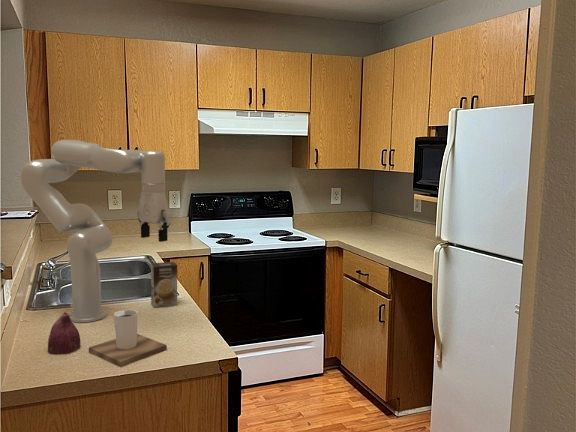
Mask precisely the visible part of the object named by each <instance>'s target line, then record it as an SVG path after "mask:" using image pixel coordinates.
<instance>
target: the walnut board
mask: <svg viewBox="0 0 576 432" xmlns="http://www.w3.org/2000/svg"><path fill="white" fill-rule="evenodd" d="M167 348H168V347H167V344H165V343H163V342H159V341H157V340H155V339H152V338H149V337H146V336H145V335H142V334H139V333H137V345H136V346H135V347H134V348H131V349H119V348H117V345H116V338H113V339H110V340H108V341H104V342H101V343H98V344H95V345H93V346H89V347H88V353H89V354H92V355H94V356H95V357H98V358H100V359H102V360H105V361H107V362H109V363H111V364H113V365H115V366H118V367H120V368H122V367H125V366H127V365H130V364H132V363H135V362H138V361H140V360H143V359H146V358H148V357H151V356H153V355H154V356H155V355H156V354H159V353H162V352H164V351H167V350H168V349H167Z"/></svg>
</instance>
